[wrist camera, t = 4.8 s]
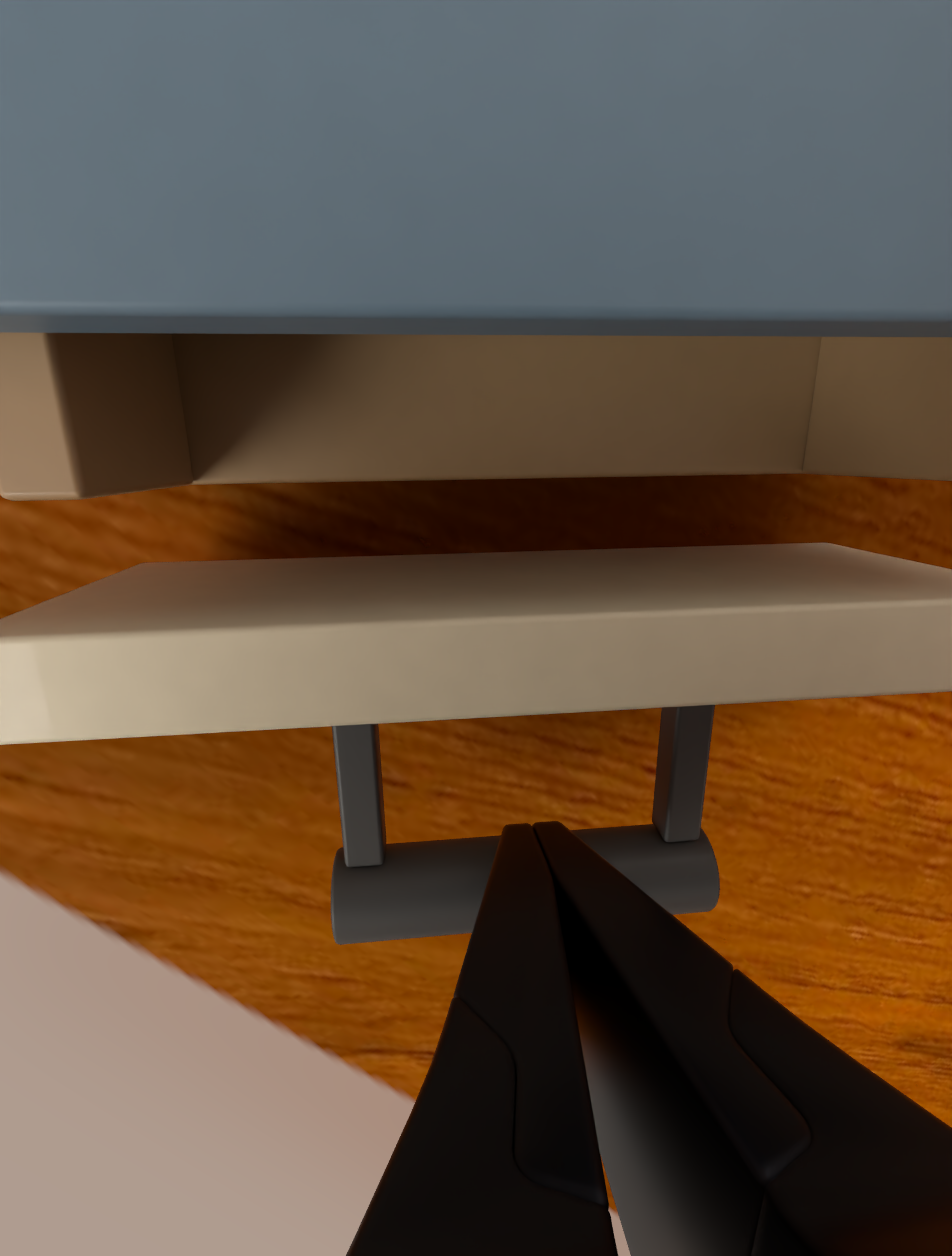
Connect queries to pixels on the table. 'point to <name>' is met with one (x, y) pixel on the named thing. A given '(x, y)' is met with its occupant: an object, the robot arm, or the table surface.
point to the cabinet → (477, 167)
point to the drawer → (469, 561)
